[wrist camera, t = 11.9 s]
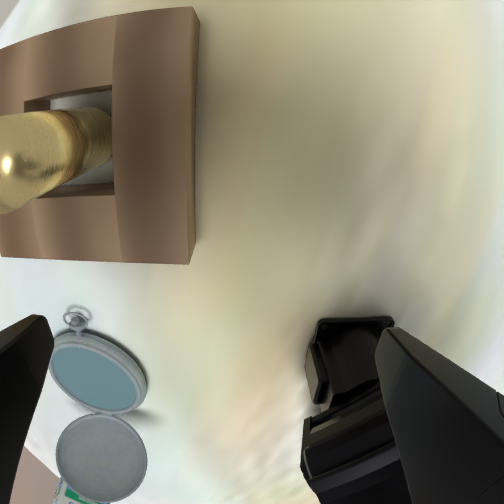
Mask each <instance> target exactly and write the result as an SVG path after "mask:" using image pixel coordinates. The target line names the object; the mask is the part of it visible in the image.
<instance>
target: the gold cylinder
mask: <svg viewBox="0 0 504 504" xmlns="http://www.w3.org/2000/svg"><path fill="white" fill-rule="evenodd" d="M111 154H112V119H111V118H110V116H109V115H108V114H107V113H105V112H104V111H102V110H100V109H98V108H92V107H91V108H71V109H57V110H46V111H36V112H27V113H19V114H11V115H4V116H0V214H8V213H11V212H13V211H15V210H16V209H18V208H20V207H22V206H23V205H25V204H27V203H28V202H30V201H32V200H34V199H36V198H37V197H39V196H41V195H43V194H45V193H46V192H48V191H50V190H52V189H54V188H56V187H58V186H60V185H62V184H64V183H66V182H68V181H69V180H71V179H73V178H75V177H78V176H80V175H82V174H84V173H86V172H88V171H90V170H92V169H94V168H96V167H98V166H100V165H102V164H104V163H105V162H106V161H107V160H108V159H109V157H110V156H111Z"/></svg>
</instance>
